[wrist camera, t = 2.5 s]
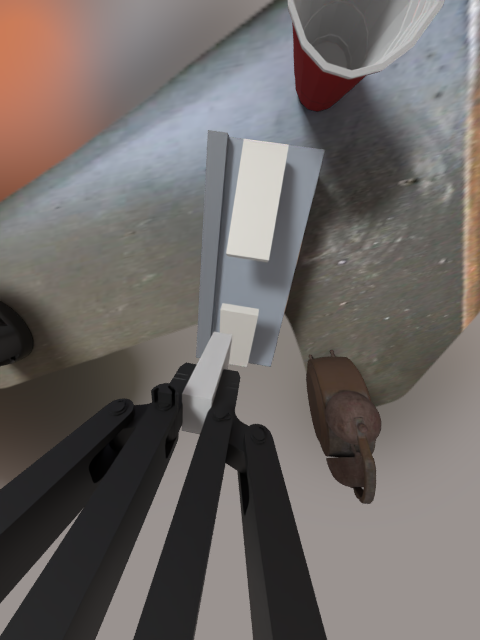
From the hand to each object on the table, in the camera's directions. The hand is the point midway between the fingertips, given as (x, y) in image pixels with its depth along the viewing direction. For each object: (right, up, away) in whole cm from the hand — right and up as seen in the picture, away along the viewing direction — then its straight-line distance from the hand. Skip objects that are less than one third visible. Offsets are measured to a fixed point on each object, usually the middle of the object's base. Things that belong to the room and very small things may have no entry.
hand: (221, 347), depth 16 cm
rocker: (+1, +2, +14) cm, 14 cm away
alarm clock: (+18, -7, +23) cm, 30 cm away
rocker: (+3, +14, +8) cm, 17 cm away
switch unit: (+3, +11, +16) cm, 20 cm away
